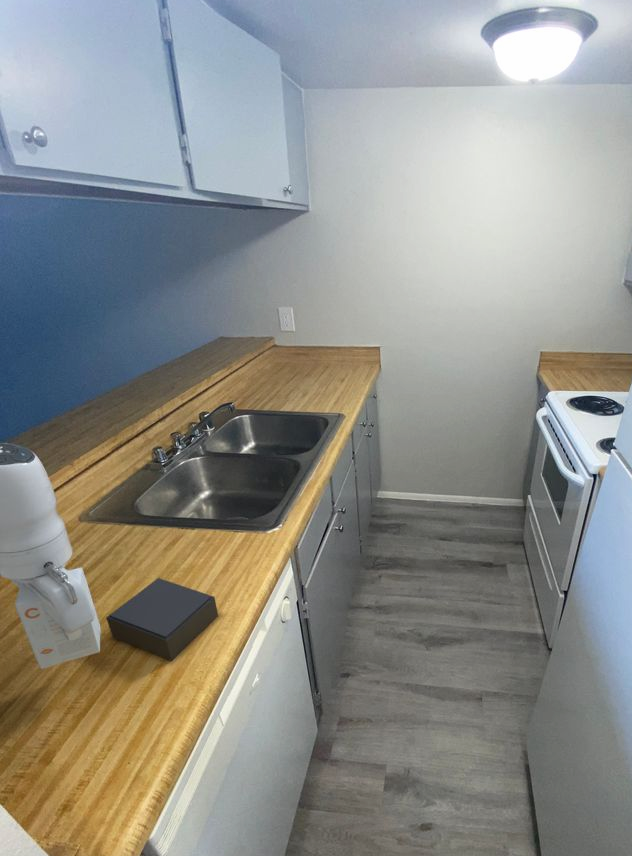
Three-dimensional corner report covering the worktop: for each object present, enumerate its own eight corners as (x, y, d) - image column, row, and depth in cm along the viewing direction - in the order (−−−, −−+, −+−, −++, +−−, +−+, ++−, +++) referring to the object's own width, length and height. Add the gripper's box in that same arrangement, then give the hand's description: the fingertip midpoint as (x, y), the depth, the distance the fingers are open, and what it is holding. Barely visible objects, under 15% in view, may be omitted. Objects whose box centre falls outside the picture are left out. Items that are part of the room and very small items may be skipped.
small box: (101, 627, 81) (83, 566, 75) (100, 653, 76) (81, 590, 70) (43, 642, 77) (20, 579, 72) (39, 670, 73) (13, 605, 67)
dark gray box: (112, 637, 88) (105, 615, 85) (163, 596, 98) (158, 576, 95) (171, 661, 83) (165, 639, 81) (218, 616, 93) (214, 595, 91)
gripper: (93, 568, 65) (115, 641, 72) (27, 518, 75) (51, 586, 81) (41, 592, 61) (70, 668, 67) (-22, 536, 70) (8, 607, 77)
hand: (59, 623), depth 74 cm, fingers closed on small box, 8 cm apart
